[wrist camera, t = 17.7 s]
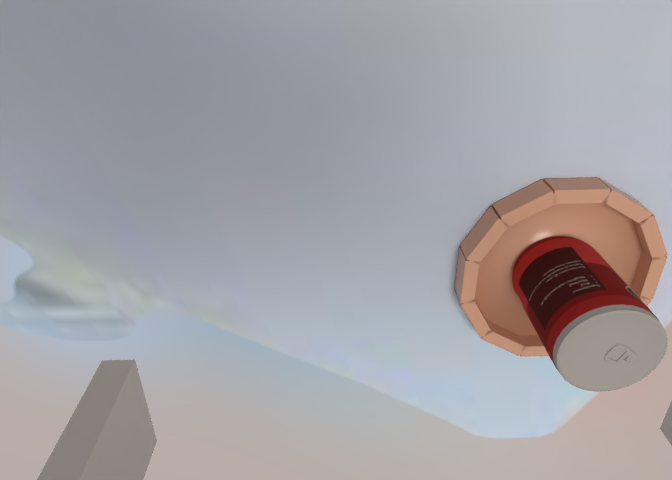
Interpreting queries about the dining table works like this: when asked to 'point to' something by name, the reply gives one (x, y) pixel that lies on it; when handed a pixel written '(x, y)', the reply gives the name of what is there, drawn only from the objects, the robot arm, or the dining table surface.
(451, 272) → the dining table surface
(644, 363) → the canned food
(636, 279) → the bowl
